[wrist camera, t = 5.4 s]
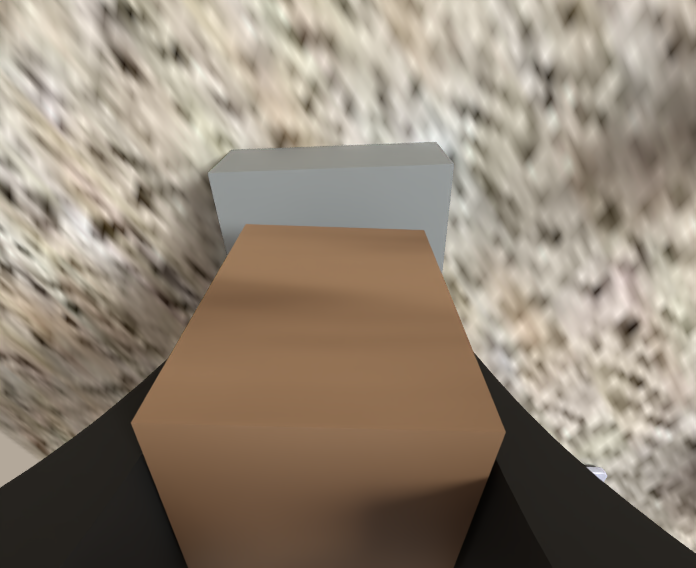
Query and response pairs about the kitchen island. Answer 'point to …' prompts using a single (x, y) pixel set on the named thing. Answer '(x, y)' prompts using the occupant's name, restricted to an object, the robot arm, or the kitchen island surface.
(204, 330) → the walnut block
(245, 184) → the base slab
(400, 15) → the kitchen island surface
